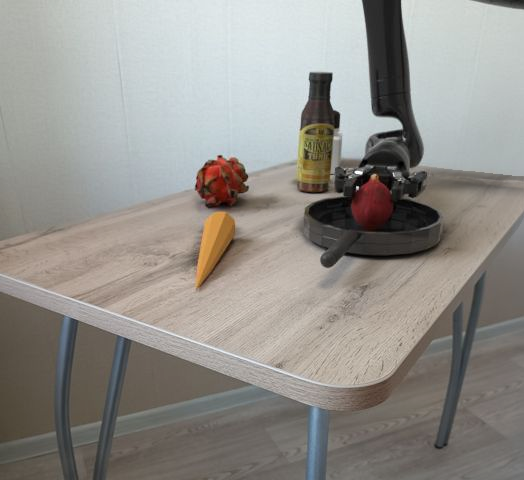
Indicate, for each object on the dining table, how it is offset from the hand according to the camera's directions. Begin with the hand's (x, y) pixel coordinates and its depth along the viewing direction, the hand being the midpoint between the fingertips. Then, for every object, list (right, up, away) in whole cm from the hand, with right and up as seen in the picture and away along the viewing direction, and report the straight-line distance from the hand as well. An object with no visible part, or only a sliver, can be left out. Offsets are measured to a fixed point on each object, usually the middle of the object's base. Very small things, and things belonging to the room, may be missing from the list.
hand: (371, 193), depth 74 cm
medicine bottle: (-2, +17, +45) cm, 48 cm away
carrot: (-22, -10, -3) cm, 24 cm away
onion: (+1, -4, +5) cm, 7 cm away
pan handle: (-5, -10, -8) cm, 13 cm away
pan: (+1, -5, +5) cm, 7 cm away
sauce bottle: (-5, +9, +30) cm, 32 cm away
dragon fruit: (-22, +4, +21) cm, 31 cm away
